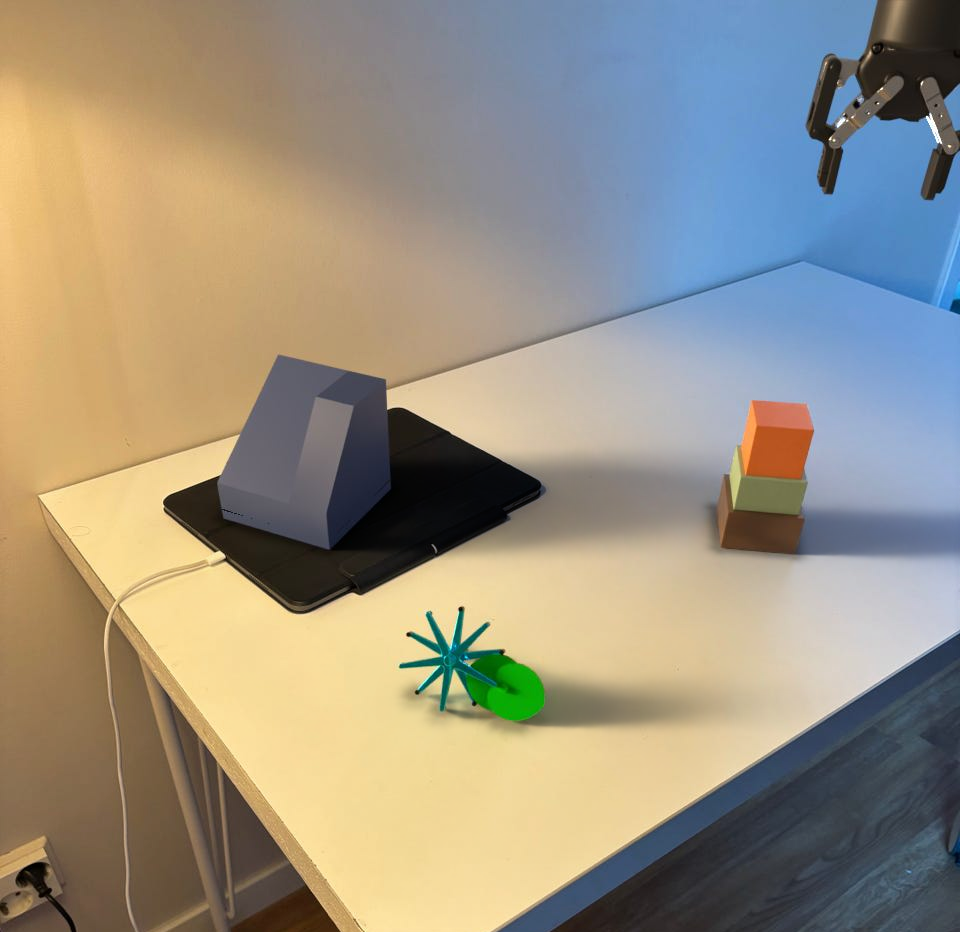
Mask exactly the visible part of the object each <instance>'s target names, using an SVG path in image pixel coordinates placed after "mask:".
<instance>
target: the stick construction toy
mask: <svg viewBox="0 0 960 932" xmlns="http://www.w3.org/2000/svg"><path fill="white" fill-rule="evenodd" d="M465 610H466V607H465V606H464V605H461V606H459V607H458V608H457V611H458V612H457V616H456V622H455V626H454V631H453V635H452V636H453V637H452V640H451V643H450V644H451V645H449V644H448V642H447V640H446V638H445V636H444V635H443V633H442V631H441V629H440V627H439V625H438V623H437V622H436V620H435V617H434V616H433V612H432V610H429V611H426V612H425V614H424V615H425V617H426V620H427V622H428V624H429V627H430V629H431V631H432V634H433V636H434V639H435V641H436V642H435V641H434V640H433V641H432V640H431V639H428V638H427V637H424V636H422V635H420V634H419V633H416V632H414V631H411V630H410V631H407V632H406V633H405V636H406V637H407V638H411V639H413V640H415V641H416V642H418V643H420V644H421V645H422V646H424V647H425V648H427V649H429V650H431V651H433V652H434V653H435V654H437V655H439V656H434V657H429V658H424V659H418V660H413V661H407V662H401V663H399V664H398V668H399V669H400V670H401V669H402V670H403V669H416V668H417V669H418V668H430V667H436V669H434V671H433V672H432V673H431V674H430V675H429V676H428V677H427V678H426V679H425V680H424V681H423V682H422V684H420V686H419V687H418V688H417V689H416V690H414V694H415V695H416V696H418V695H420V694H421V693H423V692H424V691H425V690H426V689H427V688H428V687H429V686H430V685H432V684H433V683H435V681H436V680H437V679H439V678H440V677H441V676H442V683H441V692H440V698H439V699H440V700H439V706H438V707H439V709H438V710H439V712H441V713H443V712H445V711H446V710H447V702H448V697H449V692H450V688H451V683H452V678H453V674H454V671H455V673H456V676H457V677H458V679H459V681H460V682H461V684H462V686H463V688H464V691H466V693H467V696H468V698H469V699H470V701H471V706H472V707H476V706H477V705H478V706H480V707H481V708H483V709H485V710H487V711H491V712H493V714H495V715H496V716H498V717H499V718H501V719H504V720H506V721H510V722H518V721H524V720H527V719H530V718H531V717H533V716H535V715H537V714H538V713H539V712H541V710H542V709H543V708H544V706H545V703H546V692H545V691H546V690H545V687H544V683H543V681H542V680H541V678H540V676H539V674H538V673H537V672H536V671H535V670H534V669H532V668H531V667H530V666H528V665H526V664H524V663H519V662H517V661H516V660H515V659H514V658H513V657H510V656H509V655H507V654H505V653H506V648H496V649H495V648H494V649H493V648H492V649H481V650H470V649H469V648H470V647H471V646H472V645H473V644H474V643H475V642H476V641H477V640H478V639H479V637H480V636H482V634H483V633H484V632H486V630H487V629H488V628H489V627H490V626H491V622H490V621H486V622H484V623H483V624H481V626H480V627H478V628H477V629H476V630H475V631H474V632H472V634H470V636H468V637H467V638H466V639H465V640H463V641H462V636H463V629H464V619H465ZM471 660H475V661H473V662H472V663H471V664H469V663H467V662H465V661H471Z"/></svg>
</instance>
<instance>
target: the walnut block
mask: <svg viewBox="0 0 960 932" xmlns="http://www.w3.org/2000/svg"><path fill="white" fill-rule="evenodd" d="M729 476H730V473H724V474H723V476H722V481H721V485H720V490H719V494H718V499H717V500H718V501H717V504H716V515H717V523H718V533H719V544H720V548H722V549H732V550H733V549H734V550H744V551H745V550H746V551H754V552H767V553H776V554H777V553H778V554H787V555H788V554H791V555H795V554H796V553H797V550H798V546H799V542H800V539H801V535H802V532H803V528H804V524H805V520H806V518H805V513H804V509H803V505H802V506H801V510H800V513H799V515H790V514H779V513H767V512H755V511H743V510H734V509H733V501H732V493H731V485H730V477H729Z"/></svg>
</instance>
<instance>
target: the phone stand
mask: <svg viewBox="0 0 960 932" xmlns="http://www.w3.org/2000/svg"><path fill="white" fill-rule="evenodd" d="M387 392H388V391H387V379H386V378H383V377H377V376H374V375H369V374H365V373H361V372H357V371H351V370H347V369H343V368H339V367H334V366H331V365H326V364H321V363H318V362H313V361H309V360H304V359H300V358H297V357H296V358H295V357H291V356H286V355H282V354H277V355H276V358H275V360H274V362H273V364H272V366H271V368H270V371H269V373H268V374H267V377H266V379H265V381H264V383H263V386H262V387H261V390H260V392H259V394H258V396H257V398H256V400H255V402H254V404H253V406H252V409H251V410H250V413H249V415H248V417H247V419H246V421H245V423H244V425H243V427H242V430H241V431H240V434H239V436H238V438H237V439H236V442H235V444H234V446H233V448H232V451H231V453H230V454H229V457H228V459H227V461H226V463H225V465H224V467H223V469H222V471H221V473H220V475H219V478H218V480H217V482H216V484H217V485H216V486H217V490H218V497H219V502H220V507H221V513H222V518H223V519H224V520H228V521H231V522H233V523H234V522H235V523H237V524H241V525H244V526H248V527H251V528H255V529H258V530H261V531H265V532H268V533H271V534H275V535H278V536H282V537H285V538H288V539H291V540H294V541H299V542H302V543H305V544H309V545H312V546H315V547H319V548H322V549H324V550H329V551H330V550H331V549H332V548H333V547H335V545H336V544H337V543H338V542H339V541H340V540H341V539H342V538H343V537H344V536H345V535H346V534H347V533H348V532H349V531H350V530H351V529H352V528H353V527H354V526H355V525H356V524H357V523H358V522H359V521H360V520H361V519H362V518H364V516H366V514H367V513H368V512H369V511H370V510H372V508H373V507H374V506H376V504H377V503H378V502H379V501H380V500H381V499H382V498H383V497H384V496H385V495H387V493H388V492H389V491H391V489H392V482H391V461H390V460H391V459H390V440H389V439H390V438H389V419H388V418H389V414H388V393H387ZM389 479H390V481H389V482H388V483H387V481H388V480H389ZM385 483H387V484H386V485H385ZM384 485H385V486H384ZM383 486H384V487H383ZM382 487H383V488H382ZM381 488H382V489H381ZM380 489H381V490H380ZM379 490H380V491H379ZM378 491H379V492H378ZM377 492H378V493H377ZM376 493H377V494H376ZM375 494H376V495H375ZM374 495H375V496H374ZM362 507H363V508H362ZM222 509H225V510H228V511H231V512H233V513H231V512H227V511H224V510H222ZM234 513H237V514H234ZM238 514H240V515H238ZM241 515H243V516H241ZM251 518H252V519H251ZM351 518H352V519H351ZM349 520H350V521H349ZM348 521H349V522H348ZM268 523H269V524H268ZM346 523H347V524H346ZM345 524H346V525H345ZM343 526H344V527H343ZM342 527H343V528H342ZM341 528H342V529H341ZM340 529H341V530H340ZM339 530H340V531H339ZM338 531H339V532H338ZM337 532H338V533H337ZM329 540H330V541H329Z"/></svg>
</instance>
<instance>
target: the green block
mask: <svg viewBox="0 0 960 932" xmlns="http://www.w3.org/2000/svg"><path fill="white" fill-rule="evenodd" d="M741 447H742V444H741V445H739V444H736V445H735V449H734V453H733V458H732V462H731V467H730V472H729V474H730V476H729V477H730V485H731V493H732V501H733V509H734V510H743V511H755V512H767V513H779V514H790V515H799V513H800V510H801V506H802V507H803V502H804V498H805V495H806V492H807V489H808V488H807V487H808V484H809V483H808V478H807V474H806V470H805V468H804V471H803V474H802V478H801V479H789V478H776V477H764V476H751V475H745V469H744V462H743V456H742V449H741Z"/></svg>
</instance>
